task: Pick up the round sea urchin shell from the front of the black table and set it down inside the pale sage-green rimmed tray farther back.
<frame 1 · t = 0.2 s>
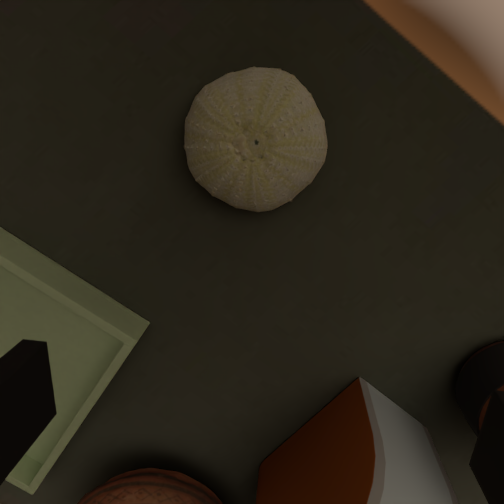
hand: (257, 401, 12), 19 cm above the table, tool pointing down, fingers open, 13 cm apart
sea urchin shell: (258, 140, 28), on the table
tray: (27, 361, 36), on the table
bowl: (167, 497, 41), on the table
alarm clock: (336, 450, 36), on the table
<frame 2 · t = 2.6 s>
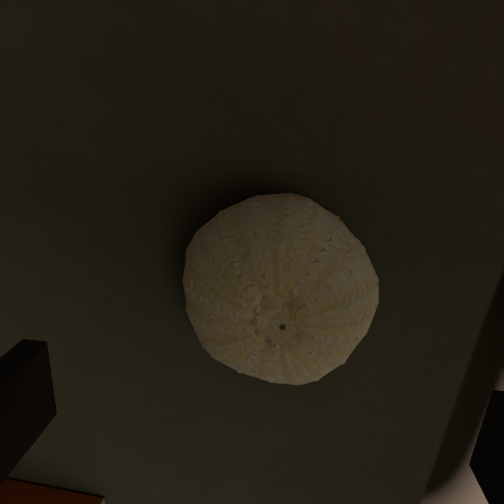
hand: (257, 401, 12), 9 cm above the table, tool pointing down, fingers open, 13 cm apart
sea urchin shell: (279, 275, 21), on the table
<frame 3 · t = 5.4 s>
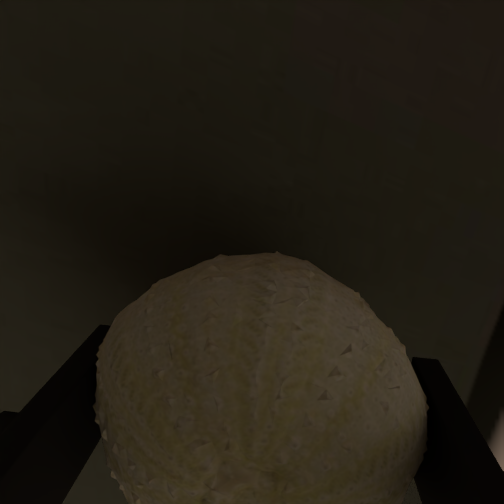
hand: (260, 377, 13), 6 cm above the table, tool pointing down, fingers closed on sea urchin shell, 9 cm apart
sea urchin shell: (261, 367, 13), point 5 cm above the table, touching gripper
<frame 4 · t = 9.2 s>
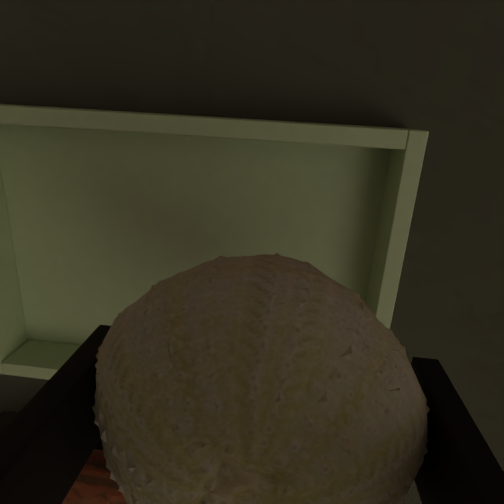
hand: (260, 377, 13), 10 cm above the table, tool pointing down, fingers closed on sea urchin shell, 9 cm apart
sea urchin shell: (261, 368, 13), point 9 cm above the table, touching gripper
tray: (187, 252, 22), on the table
bowl: (106, 484, 29), on the table
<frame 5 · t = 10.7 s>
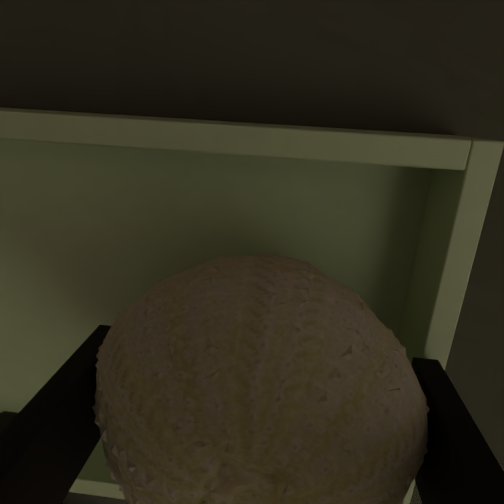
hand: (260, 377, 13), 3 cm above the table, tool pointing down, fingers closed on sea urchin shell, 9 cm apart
sea urchin shell: (261, 368, 13), point 3 cm above the table, touching gripper
tray: (146, 303, 16), on the table
when the fingers open (3 cm above the table, at t = 13.3 s): sea urchin shell drops 3 cm, resting on tray.
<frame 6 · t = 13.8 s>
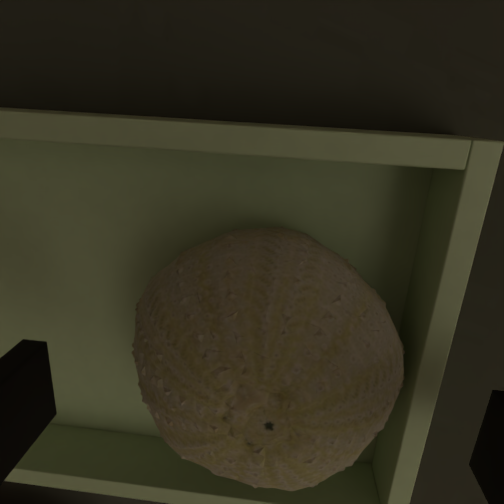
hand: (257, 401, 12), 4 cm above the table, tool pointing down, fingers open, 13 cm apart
sea urchin shell: (267, 329, 16), resting on tray
tray: (147, 302, 16), on the table
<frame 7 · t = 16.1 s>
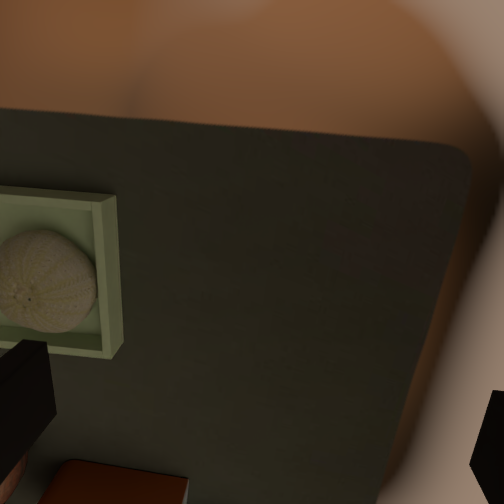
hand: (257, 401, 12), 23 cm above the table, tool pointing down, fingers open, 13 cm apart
sea urchin shell: (58, 273, 36), resting on tray
tray: (7, 262, 37), on the table
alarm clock: (124, 492, 46), on the table
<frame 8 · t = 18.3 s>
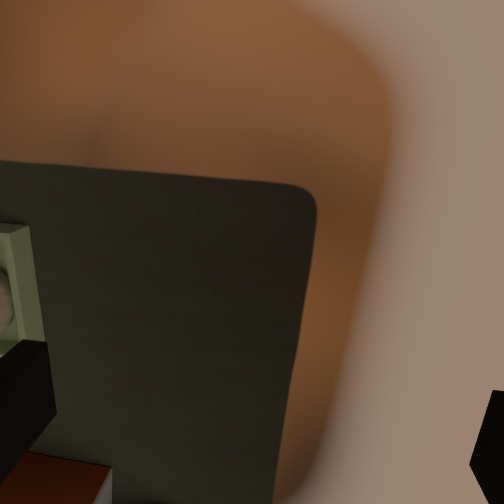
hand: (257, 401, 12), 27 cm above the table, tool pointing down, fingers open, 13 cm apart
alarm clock: (58, 479, 52), on the table
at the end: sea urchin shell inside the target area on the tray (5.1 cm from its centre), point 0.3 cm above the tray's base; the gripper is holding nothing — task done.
